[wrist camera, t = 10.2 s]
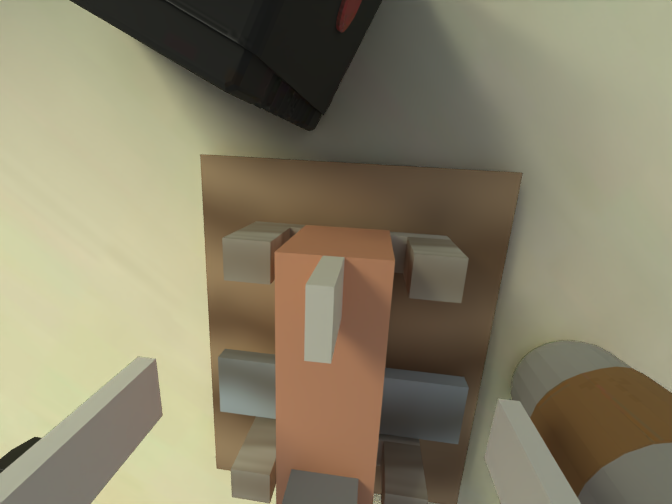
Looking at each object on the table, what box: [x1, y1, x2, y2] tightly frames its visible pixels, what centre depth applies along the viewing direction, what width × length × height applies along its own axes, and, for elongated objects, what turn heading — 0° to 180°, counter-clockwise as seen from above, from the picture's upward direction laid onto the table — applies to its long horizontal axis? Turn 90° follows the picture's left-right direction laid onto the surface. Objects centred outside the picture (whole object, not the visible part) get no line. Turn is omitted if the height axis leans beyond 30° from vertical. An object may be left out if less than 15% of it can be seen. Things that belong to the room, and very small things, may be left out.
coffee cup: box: [511, 341, 672, 504], centre depth 13 cm, size 8×8×15 cm
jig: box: [200, 154, 523, 504], centre depth 19 cm, size 22×17×6 cm
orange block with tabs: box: [274, 225, 395, 504], centre depth 15 cm, size 16×4×9 cm, turn 178°
